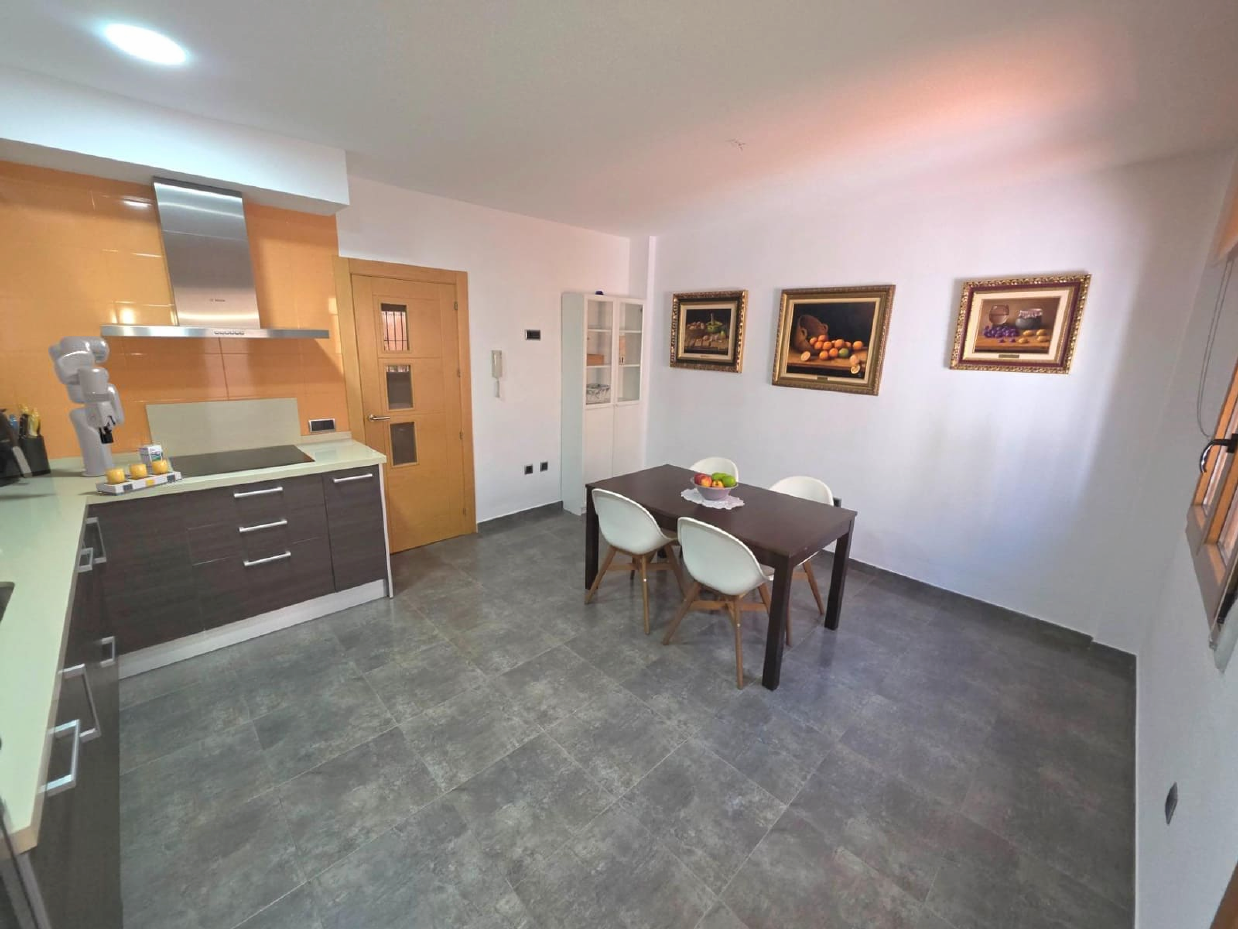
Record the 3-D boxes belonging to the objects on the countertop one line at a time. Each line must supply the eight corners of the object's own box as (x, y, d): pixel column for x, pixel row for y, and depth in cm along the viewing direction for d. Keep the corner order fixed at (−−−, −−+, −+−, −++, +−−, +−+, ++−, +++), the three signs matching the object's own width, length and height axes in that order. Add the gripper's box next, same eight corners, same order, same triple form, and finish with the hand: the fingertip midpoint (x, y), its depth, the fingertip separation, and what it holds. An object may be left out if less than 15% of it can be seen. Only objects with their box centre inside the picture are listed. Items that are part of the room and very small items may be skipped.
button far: (150, 475, 220) (147, 462, 218) (163, 472, 225) (160, 459, 223) (158, 476, 218) (155, 463, 217) (171, 473, 223) (169, 460, 222)
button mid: (128, 479, 212) (125, 466, 211) (142, 476, 217) (139, 463, 216) (137, 480, 211) (133, 467, 209) (151, 477, 216) (148, 464, 214)
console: (97, 492, 205) (95, 483, 204) (163, 478, 228) (161, 469, 227) (117, 495, 202) (115, 486, 201) (182, 480, 224) (180, 472, 223)
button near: (105, 484, 205) (102, 470, 203) (120, 481, 210) (117, 467, 208) (113, 485, 203) (110, 471, 202) (129, 482, 208) (125, 468, 207)
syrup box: (154, 477, 228) (148, 447, 225) (144, 476, 229) (137, 446, 226) (167, 474, 234) (161, 444, 230) (157, 473, 235) (151, 444, 231)
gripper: (72, 398, 196) (83, 443, 201) (97, 400, 192) (108, 446, 197) (96, 396, 203) (106, 440, 208) (121, 398, 199) (131, 442, 204)
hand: (107, 443), depth 202 cm, fingers closed
